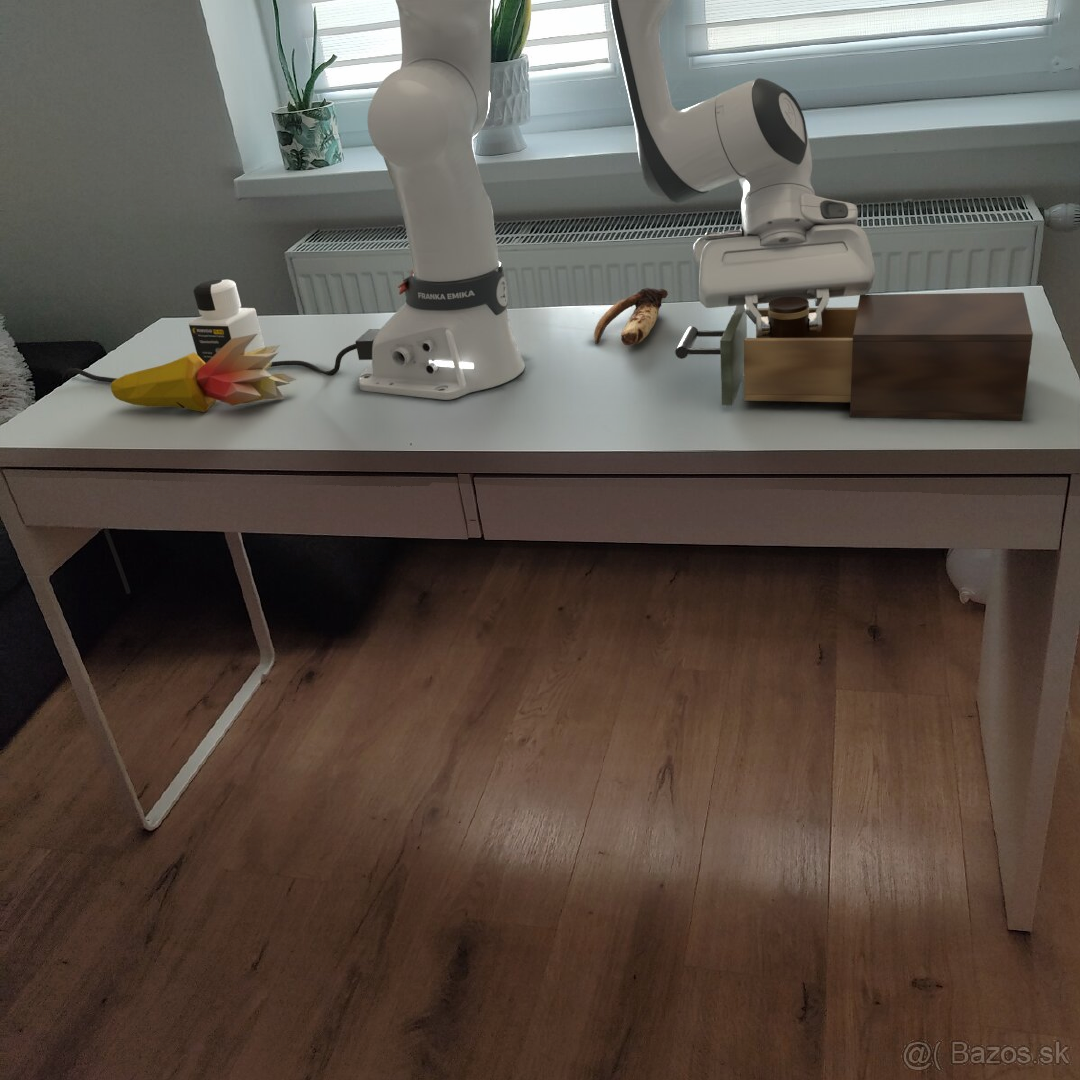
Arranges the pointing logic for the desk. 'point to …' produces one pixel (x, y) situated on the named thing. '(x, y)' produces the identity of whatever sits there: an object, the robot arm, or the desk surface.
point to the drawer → (782, 359)
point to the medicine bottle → (222, 319)
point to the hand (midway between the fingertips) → (789, 332)
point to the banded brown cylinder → (788, 317)
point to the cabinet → (941, 356)
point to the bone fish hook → (634, 315)
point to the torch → (205, 379)
